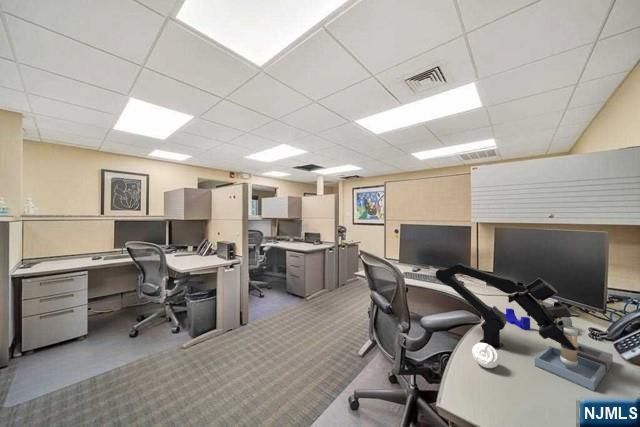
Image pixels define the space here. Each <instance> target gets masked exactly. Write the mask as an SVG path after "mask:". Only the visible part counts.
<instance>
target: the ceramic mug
mask: <svg viewBox="0 0 640 427" xmlns="http://www.w3.org/2000/svg"><path fill="white" fill-rule="evenodd" d="M556 320H557V321H558V322H559V321H561V320H563V325H567V326H571V327H574V328H576V327H575V326H574V325H573V321H572V319H571V317H569V318H566V317H562V318H561V319H559V318H557V319H556ZM556 320H555V321H556Z"/></svg>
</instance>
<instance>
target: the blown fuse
mask: <svg viewBox="0 0 640 427" xmlns="http://www.w3.org/2000/svg"><path fill="white" fill-rule="evenodd" d="M560 327H561V328H562V327H563V333H564V335H565V336H566V337H567V338H568V339H569V340H570V342H571V343H572V344H573V345H574V347H575V348H576V349H575V350H572V349H570V348H568V347H566V346H564V345H562V344H560V350H561V355H560V361H561V363H563V364H564V365H566V366H569V367H573V368H578V360H577V350H578V349H577V343H578V337H579V335H578V334H579V330H578V329H577V327H575V326H574V327H575V328H574V327H571V326H567V325H560Z"/></svg>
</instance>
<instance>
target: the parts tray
mask: <svg viewBox="0 0 640 427" xmlns="http://www.w3.org/2000/svg"><path fill="white" fill-rule="evenodd" d="M560 355H561V348H556V347H554V346H551V345H549V346H548V347H546V348H545V349H544V350H542V351H541V352H540V353H538V355H536V356H535V357H534V366H535V367H536V368H538V369H541V370H543V371H546V372H548V373H550V374H553V375H554V376H557V377H559V378H562V379H564V380H567V381H569V382H571V383H572V384H574V385H578V386H580V387H582V388H585V389H587V390H588V391H592V392H595V391H596V389H597V388H598V387H599V385H600V383H601V382H602V381H603V379H604V378H605V376H606V374H607V372H605V365H602V364H599V363H596V362H594V361H591V360H588V359H585V358H582V357H580V356H577V360H578V368H573V367H569V366H566V365H564V364H563V363H561V361H560Z"/></svg>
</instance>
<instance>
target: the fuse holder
mask: <svg viewBox="0 0 640 427" xmlns="http://www.w3.org/2000/svg"><path fill="white" fill-rule="evenodd" d="M577 349H578V350H577V356H580V357H582V358H585V359H588V360H591V361H594V362H596V363H599V364H602V365H605V373H608V371H609V370H610V368H612V365H613V364H614V360H613V358H614V357H613V354H612V353H610V352H606V351H604V350H601V349H597V348H596V347H592V346H589V345H585V344H582V343H579V342H577Z"/></svg>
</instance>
